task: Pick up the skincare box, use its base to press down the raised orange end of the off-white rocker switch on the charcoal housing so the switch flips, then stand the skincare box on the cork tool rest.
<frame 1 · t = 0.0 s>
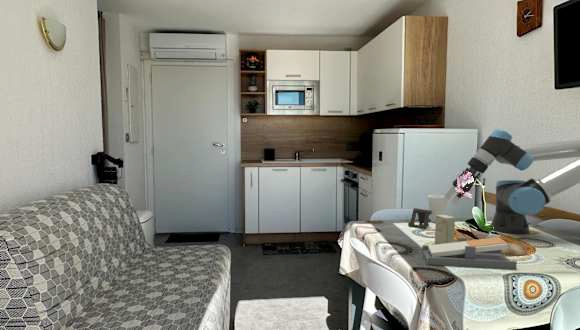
hand: (449, 200, 162), 15 cm above the table, tool tilted 35°, fingers open, 13 cm apart
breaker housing: (465, 259, 130), on the table
portable electronic device stand: (420, 227, 179), on the table
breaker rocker: (465, 246, 129), point 5 cm above the table, hinge at 10.0°
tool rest: (507, 250, 140), on the table
foam cup: (437, 221, 190), on the table
skincare box: (444, 246, 146), on the table
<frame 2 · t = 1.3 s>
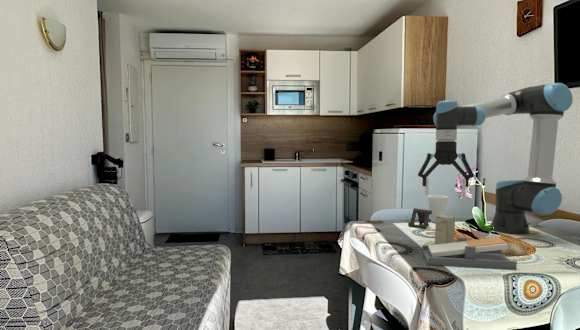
hand: (444, 195, 145), 20 cm above the table, tool pointing down, fingers open, 13 cm apart
nothing on the table moved.
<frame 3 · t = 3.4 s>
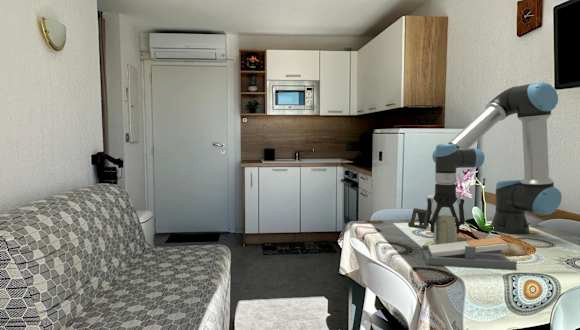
hand: (444, 241, 146), 2 cm above the table, tool pointing down, fingers closed on skincare box, 7 cm apart
skincare box: (444, 246, 146), on the table, touching gripper
everything else where it was.
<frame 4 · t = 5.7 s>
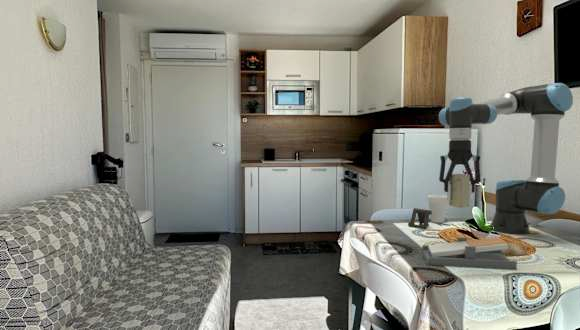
hand: (459, 200, 139), 19 cm above the table, tool pointing down, fingers closed on skincare box, 7 cm apart
skincare box: (459, 206, 139), point 17 cm above the table, touching gripper
everything else where it was.
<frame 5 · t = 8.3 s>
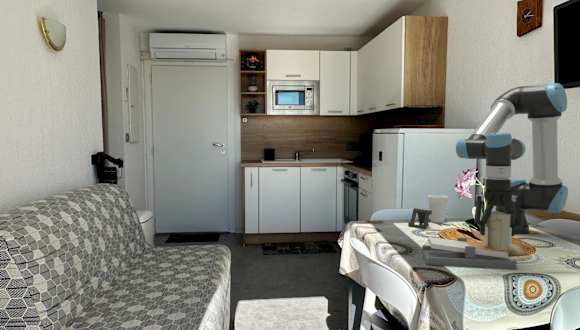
hand: (496, 244, 127), 6 cm above the table, tool pointing down, fingers open, 7 cm apart
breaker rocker: (465, 246, 129), point 5 cm above the table, hinge at -5.3°, touching skincare box
skincare box: (496, 247, 127), point 5 cm above the table, touching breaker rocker, gripper
everything else where it was.
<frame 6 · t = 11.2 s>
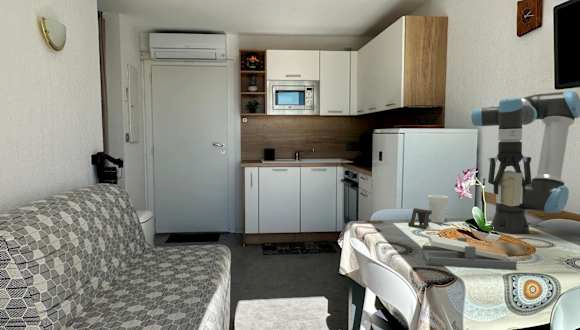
hand: (509, 202, 138), 18 cm above the table, tool pointing down, fingers closed on skincare box, 6 cm apart
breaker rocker: (465, 246, 129), point 5 cm above the table, hinge at -9.7°
skincare box: (508, 204, 138), point 18 cm above the table, touching gripper
everything else where it was.
when the fingers open (5 cm above the table, at t = 13.5 s): skincare box drops 3 cm, resting on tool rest.
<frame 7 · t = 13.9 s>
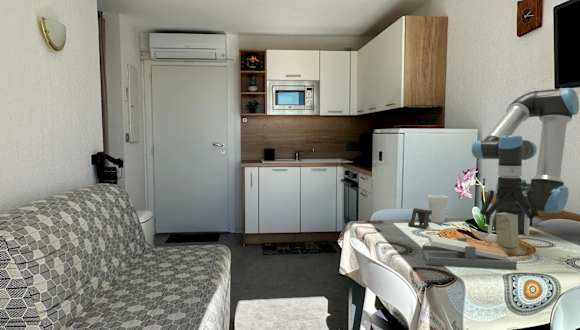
hand: (508, 234, 139), 6 cm above the table, tool pointing down, fingers open, 12 cm apart
skincare box: (508, 246, 140), point 2 cm above the table, touching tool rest
everything else where it was.
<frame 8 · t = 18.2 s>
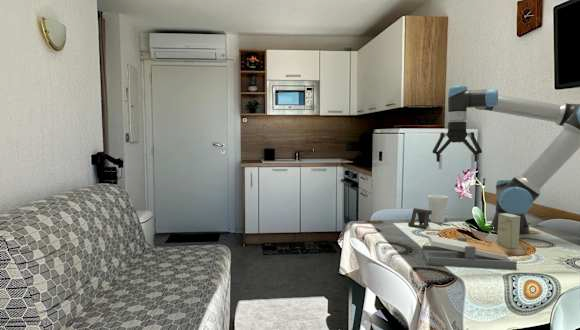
hand: (456, 169, 166), 29 cm above the table, tool pointing down, fingers open, 13 cm apart
nothing on the table moved.
at the end: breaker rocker at -10° (first picture: +10°); skincare box inside the target area on the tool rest (0.4 cm from its centre), point 1.3 cm above the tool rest's base; skincare box tilted 0° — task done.
